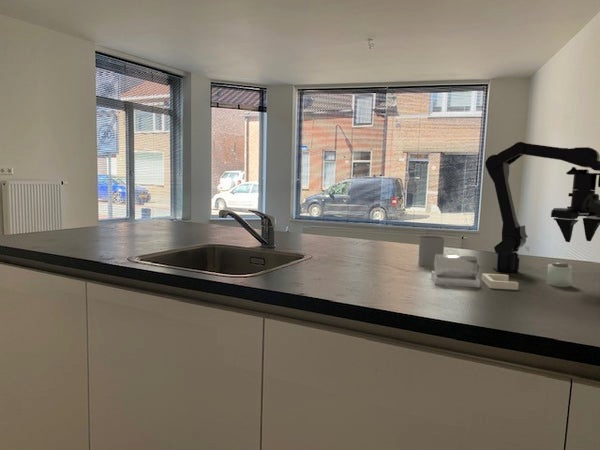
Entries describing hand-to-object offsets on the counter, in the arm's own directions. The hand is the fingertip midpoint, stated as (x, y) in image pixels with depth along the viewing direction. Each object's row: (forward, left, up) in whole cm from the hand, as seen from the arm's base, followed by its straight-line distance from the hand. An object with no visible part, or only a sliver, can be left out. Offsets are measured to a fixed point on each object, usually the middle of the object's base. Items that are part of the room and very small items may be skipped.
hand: (578, 241), depth 127 cm
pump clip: (-25, -12, -12) cm, 30 cm away
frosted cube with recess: (-7, -7, -12) cm, 16 cm away
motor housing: (-37, -12, -12) cm, 41 cm away
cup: (-41, +14, -12) cm, 45 cm away
